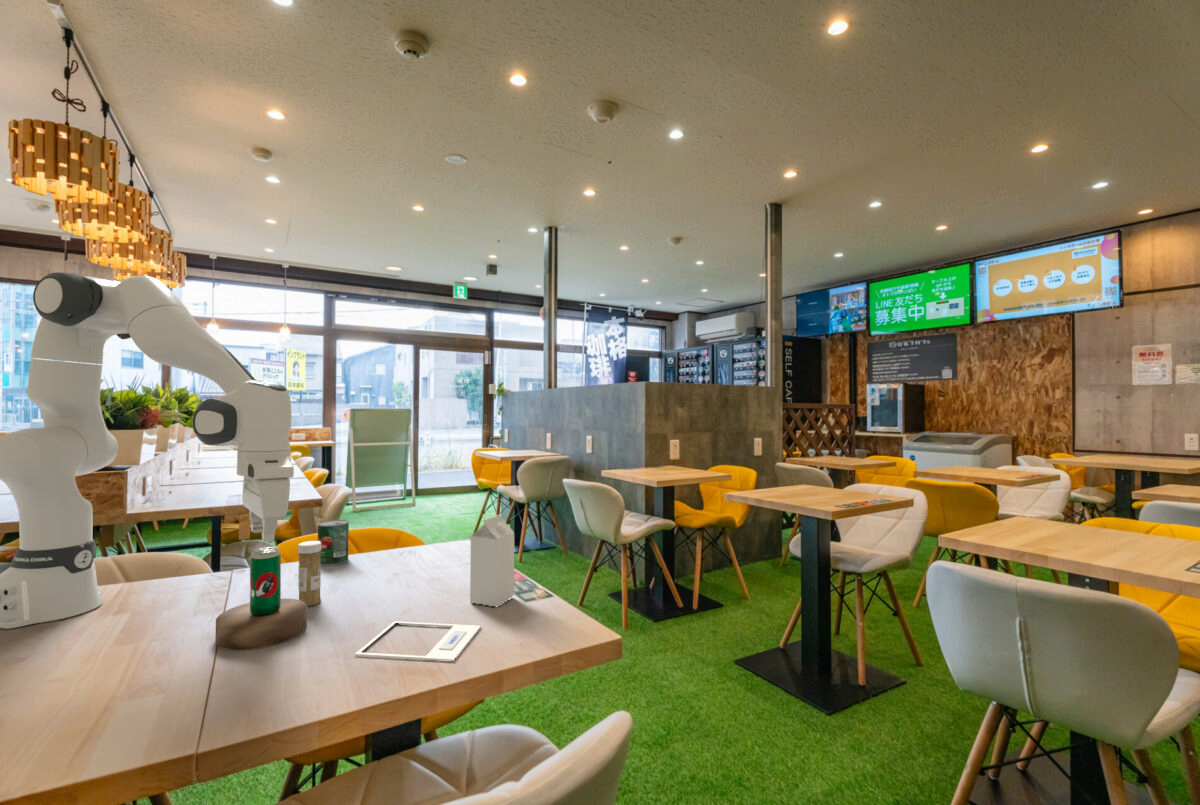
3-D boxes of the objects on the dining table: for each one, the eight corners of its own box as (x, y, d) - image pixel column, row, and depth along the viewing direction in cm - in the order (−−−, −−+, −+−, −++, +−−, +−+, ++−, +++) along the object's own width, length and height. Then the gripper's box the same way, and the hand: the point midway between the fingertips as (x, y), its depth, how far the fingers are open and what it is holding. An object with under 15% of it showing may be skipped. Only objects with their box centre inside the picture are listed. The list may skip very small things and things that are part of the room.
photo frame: (453, 658, 96) (354, 652, 98) (453, 664, 96) (354, 659, 98) (480, 624, 110) (394, 620, 112) (480, 630, 110) (394, 625, 112)
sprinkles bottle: (322, 604, 123) (322, 543, 123) (298, 608, 120) (299, 546, 120) (319, 598, 126) (320, 539, 126) (296, 602, 124) (297, 541, 124)
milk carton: (469, 603, 124) (470, 518, 124) (487, 593, 130) (488, 512, 130) (497, 608, 121) (497, 521, 121) (514, 598, 128) (514, 515, 128)
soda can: (286, 608, 109) (286, 547, 109) (265, 618, 104) (265, 554, 104) (265, 606, 110) (265, 545, 110) (243, 615, 105) (243, 552, 105)
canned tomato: (310, 564, 152) (311, 524, 152) (329, 557, 160) (329, 518, 160) (337, 566, 151) (337, 526, 151) (354, 558, 159) (354, 520, 159)
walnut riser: (195, 648, 100) (195, 626, 100) (250, 617, 115) (251, 597, 115) (276, 651, 99) (276, 628, 99) (321, 618, 114) (321, 599, 114)
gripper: (234, 460, 113) (232, 529, 113) (256, 471, 98) (254, 549, 98) (269, 459, 117) (268, 525, 117) (296, 469, 102) (294, 544, 102)
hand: (262, 536), depth 107 cm, fingers open, 8 cm apart
